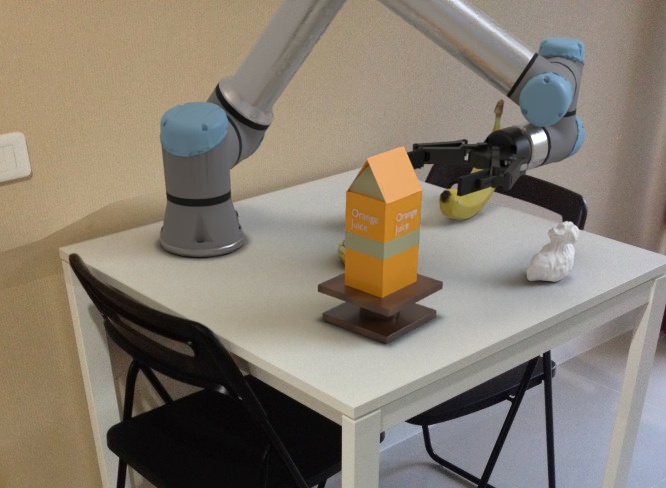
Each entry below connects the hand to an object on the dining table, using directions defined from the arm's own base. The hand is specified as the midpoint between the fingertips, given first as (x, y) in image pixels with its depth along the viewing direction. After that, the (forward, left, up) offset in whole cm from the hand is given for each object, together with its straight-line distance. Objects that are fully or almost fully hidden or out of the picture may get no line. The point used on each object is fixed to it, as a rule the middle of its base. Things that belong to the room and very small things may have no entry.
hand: (425, 176), depth 149 cm
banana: (-18, +42, -21) cm, 50 cm away
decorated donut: (-17, +8, -21) cm, 28 cm away
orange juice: (-1, -9, -15) cm, 17 cm away
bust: (+11, +24, -21) cm, 34 cm away
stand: (-1, -9, -21) cm, 23 cm away
